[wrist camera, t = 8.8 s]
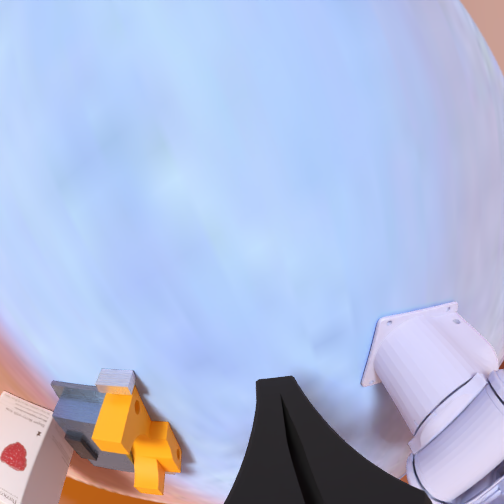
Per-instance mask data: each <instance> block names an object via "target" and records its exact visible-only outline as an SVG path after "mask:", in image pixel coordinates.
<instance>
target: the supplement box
mask: <svg viewBox="0 0 504 504" xmlns="http://www.w3.org/2000/svg"><path fill="white" fill-rule="evenodd" d="M52 414H53V411H51V410H48V409H45V408H43V407H40V406H38V405H35V404H33V403H30V402H28V401H26V400H23V399H21V398H19V397H17V396H15V395H12V394H10V393H8V392H6V391H3V393H2V394H1V396H0V504H58V503H59V499H60V495H61V491H62V488H63V484H64V481H65V477H66V474H67V471H68V467H69V464H70V461H71V458H72V455H73V452H74V449H73V448H72V447H71V446H70V444H69V443H68V442H67V441H66V440H65V439H64V437H65V434H66V433H65V432H64V431H63V430H62V428H61V427H60V426H59V425H58V423H57V422H56V421H55V419H54V418H53V417H52Z"/></svg>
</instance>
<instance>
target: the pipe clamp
mask: <svg viewBox="0 0 504 504" xmlns="http://www.w3.org/2000/svg"><path fill="white" fill-rule="evenodd" d="M92 440H93V441H94V442H95V443H96V445H97V446H98V447H99V448H100V450H101V451H107V452H113V453H120V454H127V455H130V451H132V455H133V460H134V469H135V483H134V487H135V488H136V489H137V490H138V491H139V492H140V493H147V494H155V495H163V493H164V479H165V472H179V473H181V455H182V451H181V448H180V446H179V444H178V442H177V440H176V438H175V436H174V433H173V431H172V429H171V427H170V424H169V422H161V421H151V419H150V417H149V415H148V413H147V410H146V408H145V406H144V404H143V402H142V400H141V397H140V395H139V393H138V391H137V388H136V386H134V388H133V391H132V395H122V394H110V393H106V395H105V398H104V401H103V404H102V407H101V410H100V413H99V416H98V419H97V422H96V425H95V428H94V432H93V435H92Z"/></svg>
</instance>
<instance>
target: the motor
mask: <svg viewBox="0 0 504 504" xmlns="http://www.w3.org/2000/svg"><path fill="white" fill-rule="evenodd" d="M135 381H136V377H135V374H134V372H133V370H119V369H103V368H102V369H101V371H100V374H99V376H98V379H97V381H96V384H95V385H96V386H88V385H79V384H72V383H65V382H59V381H52V383H51V386H52V388H53V389H54V391H55V392H56V394H57V396H58V397H59V401H58V403H57V405H56V407H55V409H54V412H53V414H52V417H53V418H54V419H55V421H56V422H57V423H58V425H59V426H60V427H61V428H62V430H63V431H64V432H65V433H66V434H65V437H64V439H65V440H66V441H67V442H68V443H69V444H70V446H71V447H72V448H73V449H74V450H75V451H76V452H77V453H78V455H79V456H80V457H81V458H85V459H88V460H89V461H90V462H91V463H92V464H93V465H94V466H98V467H103V468H108V469H114V470H120V471H127V472H134V473H135V469H134V460H133V455H132V451H130V455H127V454H120V453H113V452H107V451H101V450H100V448H99V447H98V446H97V445H96V443H95V442H94V441H93V440H92V435H93V432H94V428H95V425H96V422H97V419H98V416H99V413H100V410H101V407H102V404H103V401H104V398H105V395H106V393H110V394H122V395H132V391H133V388H134V384H135ZM165 474H175V472H165Z"/></svg>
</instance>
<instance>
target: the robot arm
mask: <svg viewBox="0 0 504 504" xmlns="http://www.w3.org/2000/svg"><path fill="white" fill-rule="evenodd" d="M457 309H458V303H457V302H456V301H454V302H450V303H446V304H442V305H438V306H434V307H429V308H425V309H420V310H416V311H411V312H406V313H402V314H397V315H391V316H386V317H382V318H381V319H379V321H378V323H377V327H376V331H375V335H374V339H373V343H372V347H371V350H370V354H369V358H368V361H367V365H366V368H365V372H364V375H363V378H362V381H361V384H362V386H364V387H366V386H370V385H374V384H378V383H381V382H382V383H383V385H384V386H385V388H386V390H387V391H388V393H389V395H390V396H391V398H392V400H393V401H394V403H395V405H396V407H397V408H398V410H399V412H400V413H401V415H402V417H403V419H404V420H405V422H406V424H407V426H408V427H409V429H410V431H411V433H412V435H413V436H414V438H413V439H412V440H411V441H410V442H409V443H408V445H409V447H410V449H411V451H412V453H411V454H410V455H409V457H408V459H407V465H406V474H407V480H408V483H409V484H407V483H405V482H403V481H401V480H399V479H397V478H395V477H394V476H392V475H390V474H388V473H387V472H385V471H383V470H382V469H380V468H379V467H377V466H376V465H374V464H373V463H371V462H370V461H368V460H367V459H366V458H364V457H363V456H362V455H361V454H359V453H358V452H357V451H356V450H354V449H353V448H352V447H351V446H350V445H349V444H347V443H346V442H345V441H344V440H343V439H342V438H341V437H340V436H339V435H338V434H337V433H336V432H335V431H334V430H333V429H332V428H331V427H330V426H329V425H328V423H327V422H326V421H325V420H324V419H323V418H322V416H321V415H320V414H319V413H318V412H317V410H316V409H315V408H314V407H313V405H312V404H311V403H310V401H309V400H308V399H307V397H306V396H305V394H304V393H303V391H302V390H301V388H300V387H299V385H298V384H297V382H296V380H295V378H294V377H293V376H285V377H277V378H268V379H259V380H258V381H256V400H257V401H256V411H255V416H254V422H253V427H252V432H251V435H250V439H249V443H248V447H247V450H246V453H245V456H244V459H243V462H242V465H241V467H240V470H239V473H238V475H237V477H236V480H235V482H234V484H233V487H232V489H231V491H230V493H229V495H228V497H227V499H226V501H225V502H224V504H504V369H501V370H498V359H497V356H496V353H495V350H494V348H493V347H492V345H491V344H490V343H489V342H488V341H487V340H486V339H485V338H484V337H483V336H482V335H481V334H480V333H479V332H478V331H477V330H475V329H474V328H473V327H472V326H471V325H470V324H469V323H468V322H467V321H466V320H465V319H463V318H462V317H461V316H460V315H459V314H458V313H457ZM388 321H389V322H388ZM387 322H388V323H387Z"/></svg>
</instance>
